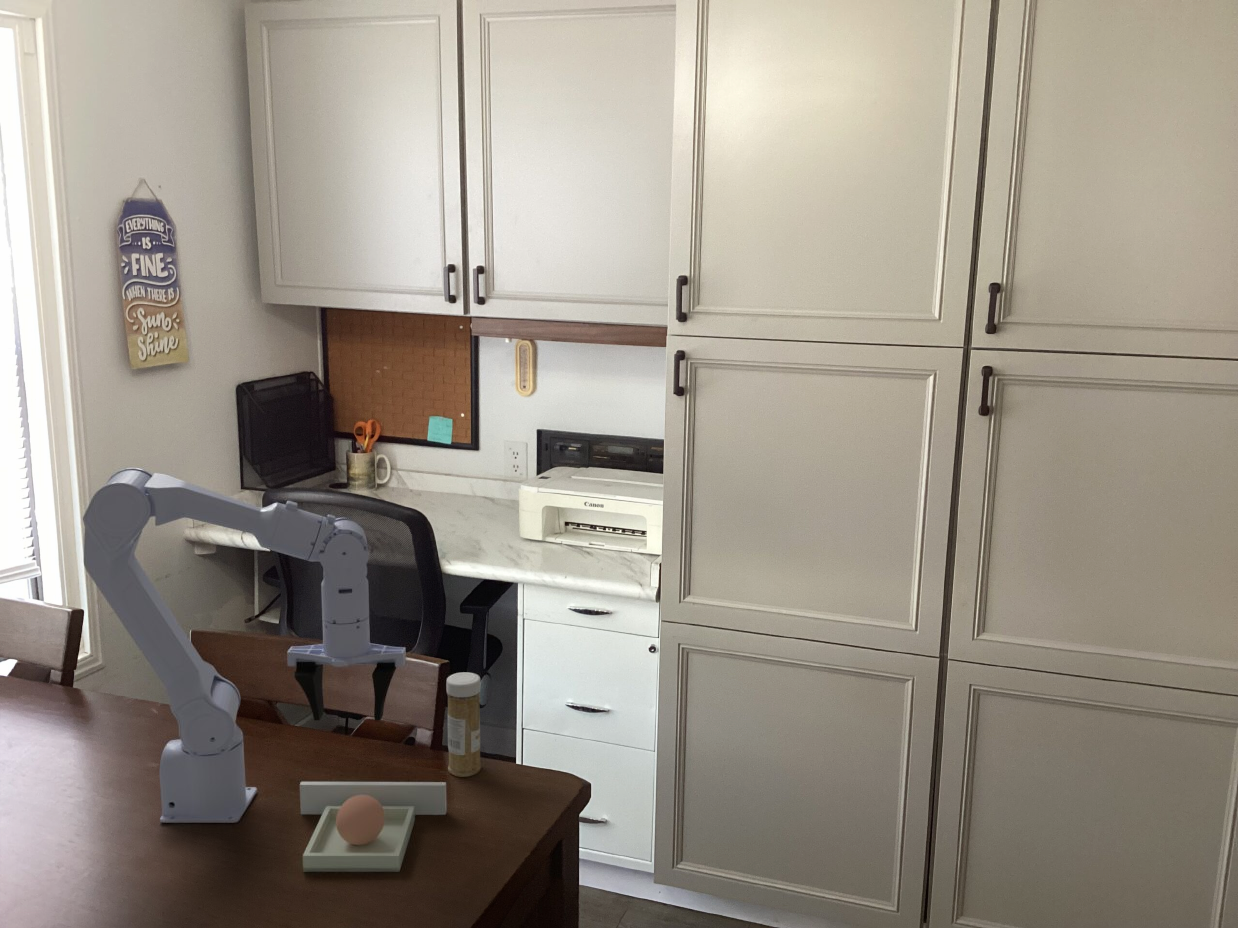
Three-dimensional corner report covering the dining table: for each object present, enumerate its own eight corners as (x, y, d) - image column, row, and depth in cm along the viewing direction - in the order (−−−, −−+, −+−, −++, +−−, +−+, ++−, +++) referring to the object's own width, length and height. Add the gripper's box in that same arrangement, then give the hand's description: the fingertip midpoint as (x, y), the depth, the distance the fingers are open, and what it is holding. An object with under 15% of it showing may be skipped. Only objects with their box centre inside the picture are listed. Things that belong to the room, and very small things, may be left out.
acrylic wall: (300, 814, 128) (299, 784, 127) (302, 810, 129) (301, 781, 128) (445, 814, 129) (445, 785, 128) (446, 811, 129) (446, 782, 129)
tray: (303, 871, 116) (302, 855, 116) (326, 820, 127) (326, 805, 126) (399, 871, 116) (398, 855, 116) (414, 820, 127) (414, 806, 127)
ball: (331, 854, 119) (329, 810, 118) (343, 828, 124) (341, 785, 123) (380, 854, 119) (378, 810, 118) (389, 827, 124) (388, 785, 123)
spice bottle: (486, 772, 139) (486, 679, 137) (455, 781, 137) (455, 686, 134) (472, 758, 143) (471, 668, 141) (441, 767, 141) (440, 674, 138)
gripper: (278, 627, 125) (282, 730, 127) (398, 628, 125) (400, 731, 128) (294, 607, 132) (298, 706, 134) (407, 609, 132) (409, 707, 135)
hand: (348, 717), depth 132 cm, fingers open, 7 cm apart
